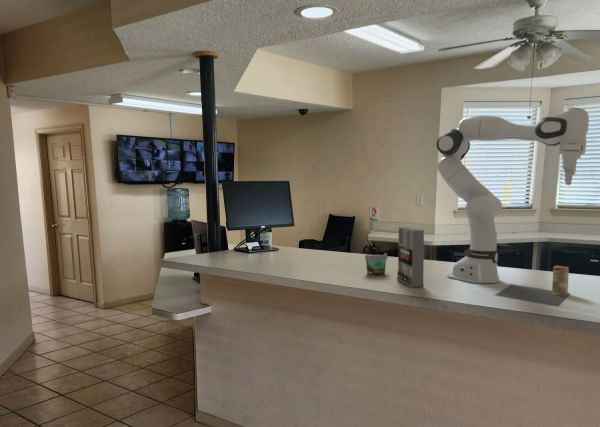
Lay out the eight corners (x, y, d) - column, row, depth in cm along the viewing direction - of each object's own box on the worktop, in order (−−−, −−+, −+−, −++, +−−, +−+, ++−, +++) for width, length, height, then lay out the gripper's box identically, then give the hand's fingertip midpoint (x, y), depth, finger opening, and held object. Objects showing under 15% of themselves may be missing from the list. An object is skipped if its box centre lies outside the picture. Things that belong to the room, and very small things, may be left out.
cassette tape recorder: (396, 280, 190) (396, 227, 188) (408, 279, 192) (408, 226, 189) (410, 288, 177) (411, 230, 175) (423, 287, 178) (424, 230, 176)
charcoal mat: (494, 296, 163) (494, 295, 163) (511, 285, 179) (511, 284, 179) (558, 307, 148) (558, 306, 148) (570, 294, 164) (570, 293, 164)
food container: (371, 277, 197) (371, 256, 196) (364, 274, 202) (364, 254, 202) (392, 274, 202) (392, 254, 201) (385, 272, 207) (385, 252, 207)
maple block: (552, 294, 163) (553, 267, 162) (554, 292, 166) (555, 265, 165) (565, 296, 160) (566, 268, 159) (567, 294, 163) (568, 266, 162)
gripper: (563, 153, 174) (559, 185, 174) (561, 144, 157) (557, 180, 157) (581, 153, 170) (577, 186, 170) (581, 145, 153) (577, 181, 154)
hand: (567, 183), depth 164 cm, fingers open, 8 cm apart
